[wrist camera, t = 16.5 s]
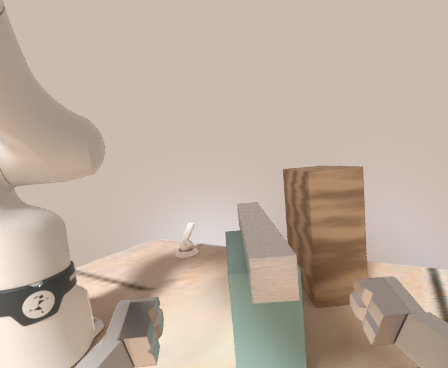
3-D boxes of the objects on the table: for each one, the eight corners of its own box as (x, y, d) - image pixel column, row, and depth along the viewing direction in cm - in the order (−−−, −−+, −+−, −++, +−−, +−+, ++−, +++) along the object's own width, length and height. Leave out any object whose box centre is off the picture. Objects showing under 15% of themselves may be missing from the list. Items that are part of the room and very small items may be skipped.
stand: (368, 302, 46) (362, 166, 44) (316, 307, 46) (308, 171, 44) (327, 263, 64) (321, 165, 62) (289, 267, 64) (282, 169, 62)
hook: (209, 231, 86) (203, 225, 80) (197, 265, 81) (189, 261, 76) (191, 226, 89) (183, 220, 83) (178, 259, 84) (169, 254, 78)
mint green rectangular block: (309, 405, 28) (300, 268, 27) (240, 411, 28) (228, 274, 27) (275, 314, 45) (269, 227, 44) (233, 318, 45) (225, 231, 44)
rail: (299, 300, 21) (296, 255, 20) (252, 303, 21) (249, 258, 21) (258, 221, 49) (257, 202, 48) (238, 223, 49) (237, 203, 48)
